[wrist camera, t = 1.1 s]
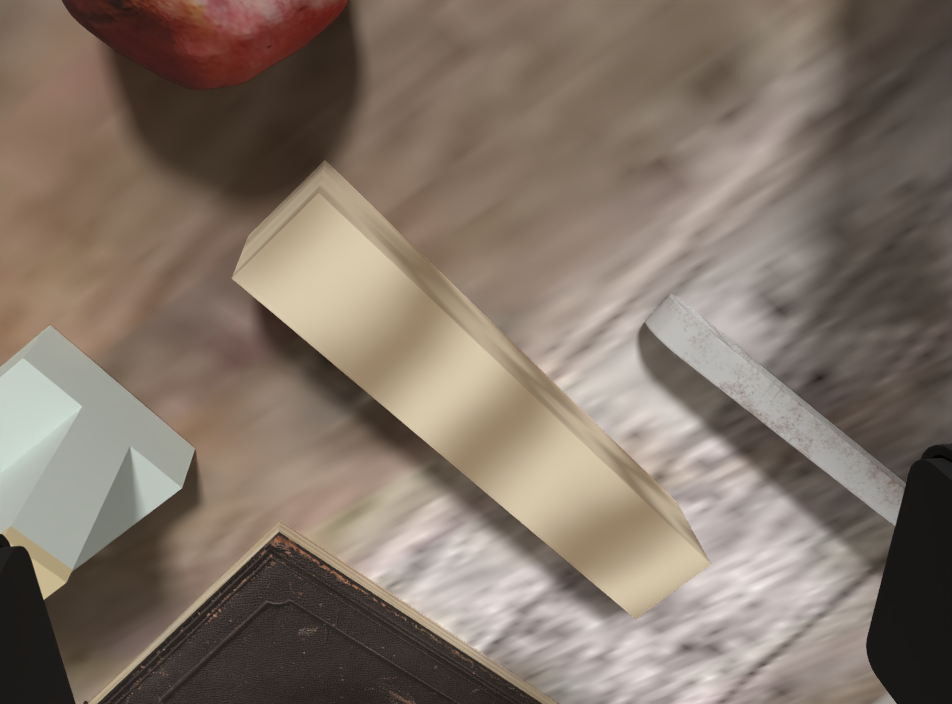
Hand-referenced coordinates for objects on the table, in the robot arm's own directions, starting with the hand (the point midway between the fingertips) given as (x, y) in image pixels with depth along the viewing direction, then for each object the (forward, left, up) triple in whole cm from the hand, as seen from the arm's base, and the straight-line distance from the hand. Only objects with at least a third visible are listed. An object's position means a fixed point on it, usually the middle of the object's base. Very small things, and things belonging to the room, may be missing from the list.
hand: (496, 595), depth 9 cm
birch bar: (-5, +11, -26) cm, 29 cm away
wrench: (-24, +14, -26) cm, 39 cm away
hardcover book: (0, +32, -27) cm, 42 cm away
